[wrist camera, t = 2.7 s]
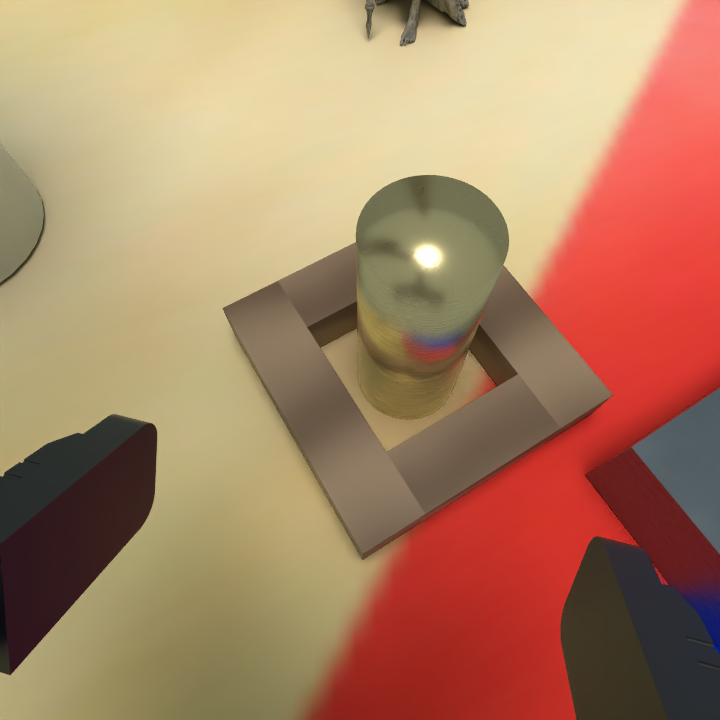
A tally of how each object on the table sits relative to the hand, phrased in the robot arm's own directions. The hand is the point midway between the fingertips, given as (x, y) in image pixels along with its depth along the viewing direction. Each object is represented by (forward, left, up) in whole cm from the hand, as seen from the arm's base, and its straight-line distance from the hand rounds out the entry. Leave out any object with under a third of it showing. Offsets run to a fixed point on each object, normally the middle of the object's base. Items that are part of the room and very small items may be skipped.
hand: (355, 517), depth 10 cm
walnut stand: (-6, +6, -14) cm, 16 cm away
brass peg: (-6, +6, -14) cm, 16 cm away
